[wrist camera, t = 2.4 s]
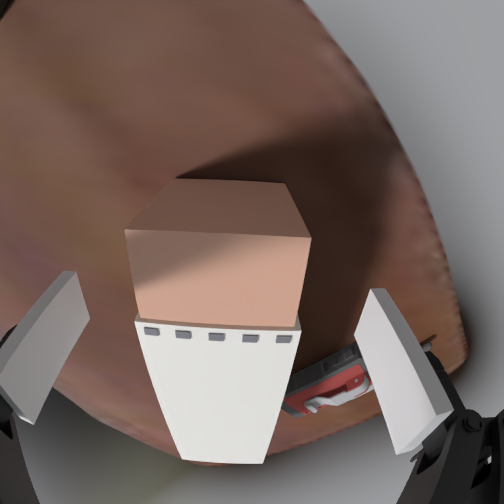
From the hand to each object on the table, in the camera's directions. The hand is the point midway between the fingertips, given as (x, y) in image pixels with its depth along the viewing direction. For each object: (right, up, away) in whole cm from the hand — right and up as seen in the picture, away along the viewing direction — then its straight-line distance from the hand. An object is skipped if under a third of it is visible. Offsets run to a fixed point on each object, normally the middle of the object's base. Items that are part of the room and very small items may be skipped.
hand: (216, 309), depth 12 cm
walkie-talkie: (+13, -11, +19) cm, 26 cm away
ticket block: (-1, -7, +16) cm, 17 cm away
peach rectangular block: (0, +5, +9) cm, 11 cm away
